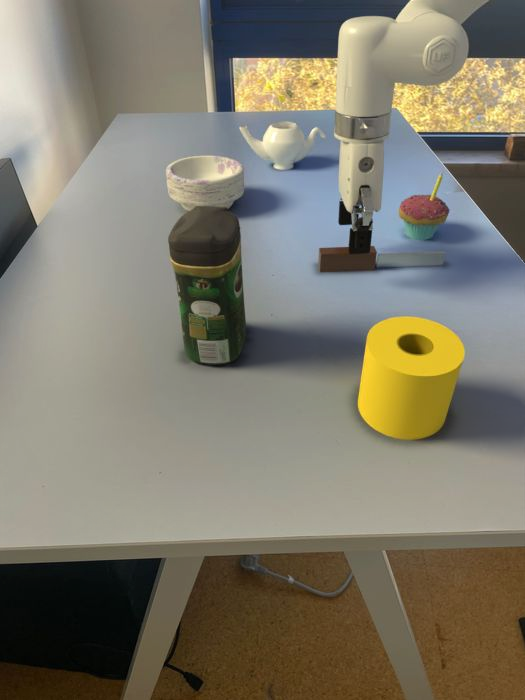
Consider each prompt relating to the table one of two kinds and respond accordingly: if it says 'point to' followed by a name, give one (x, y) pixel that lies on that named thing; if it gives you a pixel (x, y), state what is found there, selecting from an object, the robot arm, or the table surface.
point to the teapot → (282, 143)
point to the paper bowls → (205, 181)
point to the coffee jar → (209, 283)
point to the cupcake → (423, 214)
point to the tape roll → (409, 376)
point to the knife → (373, 259)
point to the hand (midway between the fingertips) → (353, 237)
